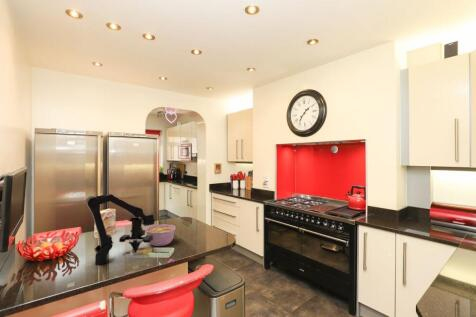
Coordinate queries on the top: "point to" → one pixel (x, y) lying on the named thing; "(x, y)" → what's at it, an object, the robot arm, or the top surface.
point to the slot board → (135, 255)
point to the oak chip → (140, 250)
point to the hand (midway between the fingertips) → (136, 252)
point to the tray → (162, 255)
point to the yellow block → (147, 250)
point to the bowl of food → (161, 234)
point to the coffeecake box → (107, 222)
